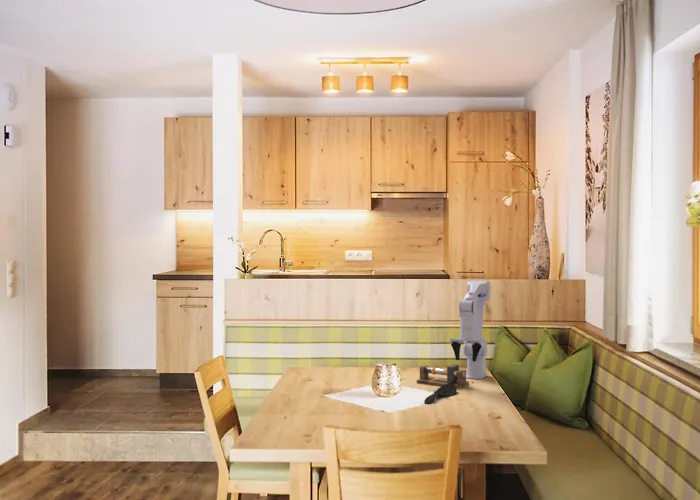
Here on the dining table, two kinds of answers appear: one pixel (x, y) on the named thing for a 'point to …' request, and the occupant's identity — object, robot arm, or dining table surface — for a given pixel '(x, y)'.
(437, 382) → the pipe stand
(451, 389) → the hairbrush
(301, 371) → the dining table surface
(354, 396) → the dining table surface
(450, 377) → the collar
